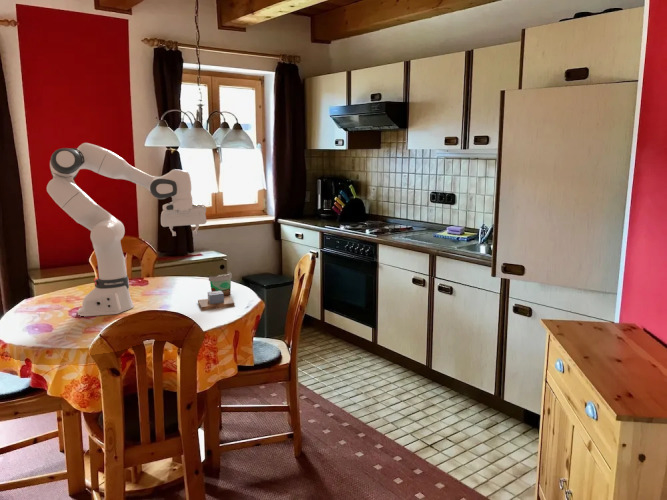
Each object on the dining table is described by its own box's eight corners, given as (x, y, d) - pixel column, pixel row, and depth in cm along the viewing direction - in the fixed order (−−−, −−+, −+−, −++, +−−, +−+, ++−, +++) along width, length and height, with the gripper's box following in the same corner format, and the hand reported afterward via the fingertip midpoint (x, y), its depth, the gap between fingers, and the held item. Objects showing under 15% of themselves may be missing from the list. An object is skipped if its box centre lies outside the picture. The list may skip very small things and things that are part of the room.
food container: (218, 299, 245) (217, 278, 243) (209, 297, 249) (208, 276, 247) (238, 293, 255) (237, 272, 253) (229, 291, 258) (228, 271, 256)
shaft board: (201, 310, 229) (201, 300, 228) (198, 303, 240) (197, 293, 239) (234, 306, 234) (234, 296, 233) (229, 299, 245) (228, 289, 244)
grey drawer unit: (210, 304, 232) (209, 294, 231) (208, 300, 237) (207, 291, 237) (224, 302, 234) (223, 293, 233) (221, 299, 240) (221, 290, 239)
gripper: (204, 203, 252) (206, 232, 254) (159, 205, 245) (161, 235, 247) (206, 204, 246) (208, 234, 249) (160, 207, 239) (162, 237, 242)
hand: (184, 235), depth 248 cm, fingers open, 8 cm apart
